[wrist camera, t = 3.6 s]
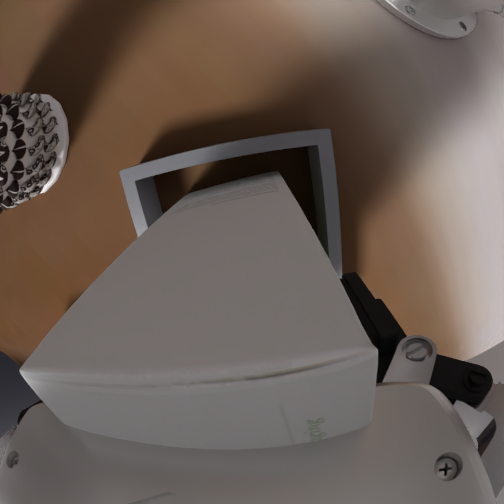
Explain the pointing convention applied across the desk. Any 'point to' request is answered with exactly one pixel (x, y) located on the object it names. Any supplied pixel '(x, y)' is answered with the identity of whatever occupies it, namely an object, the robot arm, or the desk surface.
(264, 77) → the desk surface
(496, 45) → the desk surface
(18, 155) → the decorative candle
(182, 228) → the skincare box
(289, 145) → the frame
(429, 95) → the desk surface
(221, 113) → the desk surface
